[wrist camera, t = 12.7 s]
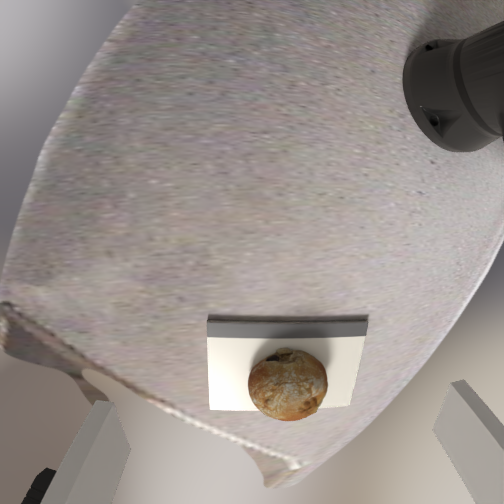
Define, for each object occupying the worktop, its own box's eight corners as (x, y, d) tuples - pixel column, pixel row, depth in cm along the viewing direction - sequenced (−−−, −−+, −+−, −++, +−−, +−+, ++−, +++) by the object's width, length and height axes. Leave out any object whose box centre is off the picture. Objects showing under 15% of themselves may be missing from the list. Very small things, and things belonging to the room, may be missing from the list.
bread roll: (308, 331, 43) (308, 338, 35) (338, 395, 40) (345, 414, 33) (242, 361, 43) (229, 373, 36) (274, 423, 41) (267, 446, 33)
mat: (366, 319, 39) (368, 322, 39) (348, 403, 43) (349, 406, 42) (207, 319, 38) (206, 322, 38) (210, 406, 42) (210, 409, 41)
